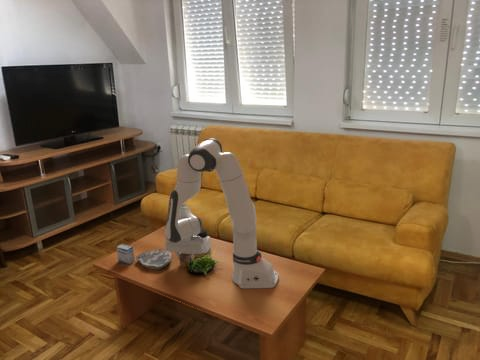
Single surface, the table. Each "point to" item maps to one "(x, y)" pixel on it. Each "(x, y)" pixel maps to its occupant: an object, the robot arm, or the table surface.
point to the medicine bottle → (205, 240)
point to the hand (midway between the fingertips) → (185, 259)
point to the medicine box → (125, 254)
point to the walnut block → (185, 259)
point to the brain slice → (154, 259)
